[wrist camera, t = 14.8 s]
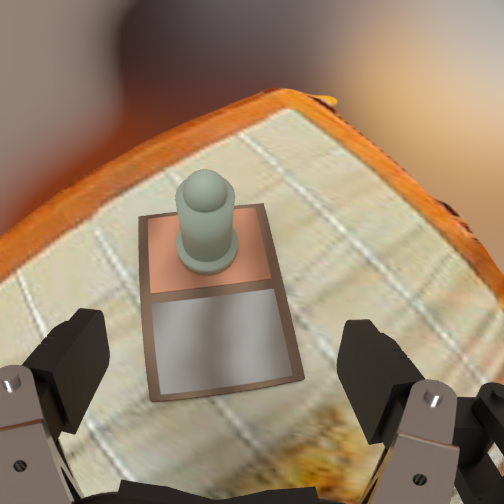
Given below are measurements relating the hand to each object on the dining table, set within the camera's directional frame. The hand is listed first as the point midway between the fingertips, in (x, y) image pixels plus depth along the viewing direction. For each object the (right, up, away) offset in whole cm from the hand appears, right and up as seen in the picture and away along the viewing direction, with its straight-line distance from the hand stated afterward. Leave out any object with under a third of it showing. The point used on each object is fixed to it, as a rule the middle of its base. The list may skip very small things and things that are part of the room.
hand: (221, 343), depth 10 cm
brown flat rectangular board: (-3, -1, +19) cm, 20 cm away
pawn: (-3, +3, +20) cm, 21 cm away
